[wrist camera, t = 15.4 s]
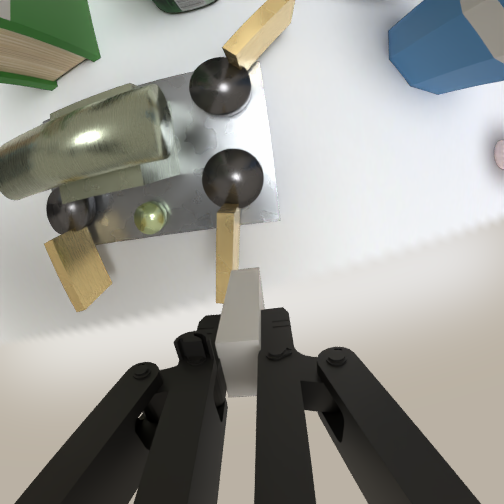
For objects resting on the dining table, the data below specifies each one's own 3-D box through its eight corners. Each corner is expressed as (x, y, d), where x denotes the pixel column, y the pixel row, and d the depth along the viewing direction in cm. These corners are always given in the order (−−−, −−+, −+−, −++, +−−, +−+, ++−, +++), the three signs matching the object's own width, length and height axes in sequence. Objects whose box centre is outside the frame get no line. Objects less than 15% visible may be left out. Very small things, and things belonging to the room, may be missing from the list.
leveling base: (74, 244, 32) (-14, 301, 17) (53, 122, 27) (-49, 124, 12) (279, 215, 30) (292, 280, 15) (259, 66, 25) (253, -10, 11)
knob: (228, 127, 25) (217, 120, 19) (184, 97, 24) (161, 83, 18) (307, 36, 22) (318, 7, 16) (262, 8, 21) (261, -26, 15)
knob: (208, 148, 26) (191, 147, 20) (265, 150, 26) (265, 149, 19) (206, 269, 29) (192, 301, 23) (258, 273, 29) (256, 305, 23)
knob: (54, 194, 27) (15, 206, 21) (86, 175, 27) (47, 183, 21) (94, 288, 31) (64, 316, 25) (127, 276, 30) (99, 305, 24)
